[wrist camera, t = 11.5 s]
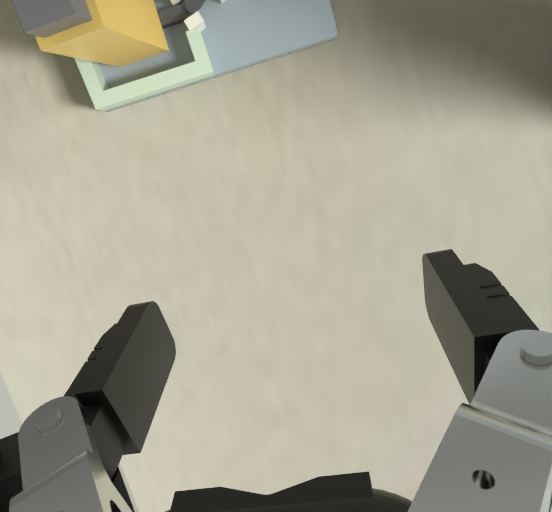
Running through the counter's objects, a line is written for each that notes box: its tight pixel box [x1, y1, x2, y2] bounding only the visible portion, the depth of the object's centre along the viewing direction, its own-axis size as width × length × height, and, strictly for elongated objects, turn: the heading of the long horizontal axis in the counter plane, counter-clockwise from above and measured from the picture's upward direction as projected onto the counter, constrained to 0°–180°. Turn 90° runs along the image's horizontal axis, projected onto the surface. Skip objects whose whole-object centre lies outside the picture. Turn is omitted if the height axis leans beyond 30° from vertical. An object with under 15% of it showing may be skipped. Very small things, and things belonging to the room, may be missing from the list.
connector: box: [12, 0, 169, 67], centre depth 25 cm, size 4×4×10 cm
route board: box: [74, 0, 338, 112], centre depth 30 cm, size 19×9×3 cm, turn 107°
